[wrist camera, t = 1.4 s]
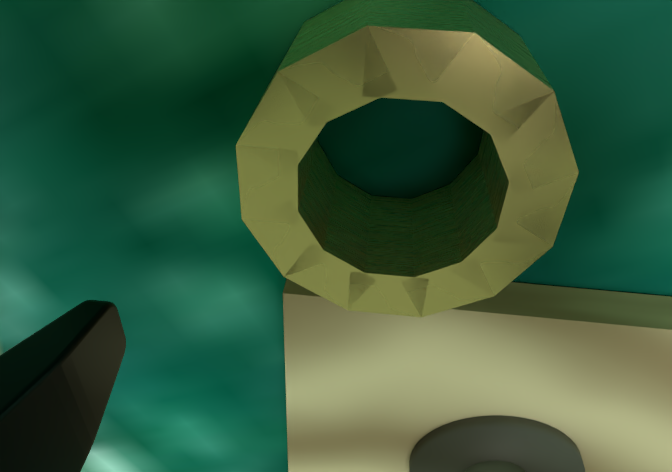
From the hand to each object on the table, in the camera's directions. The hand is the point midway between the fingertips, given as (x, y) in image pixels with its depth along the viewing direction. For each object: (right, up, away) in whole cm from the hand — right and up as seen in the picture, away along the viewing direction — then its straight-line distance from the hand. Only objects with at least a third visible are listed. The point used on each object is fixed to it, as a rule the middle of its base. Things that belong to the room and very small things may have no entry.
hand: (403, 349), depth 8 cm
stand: (+5, -6, +14) cm, 16 cm away
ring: (+1, +5, +6) cm, 8 cm away
